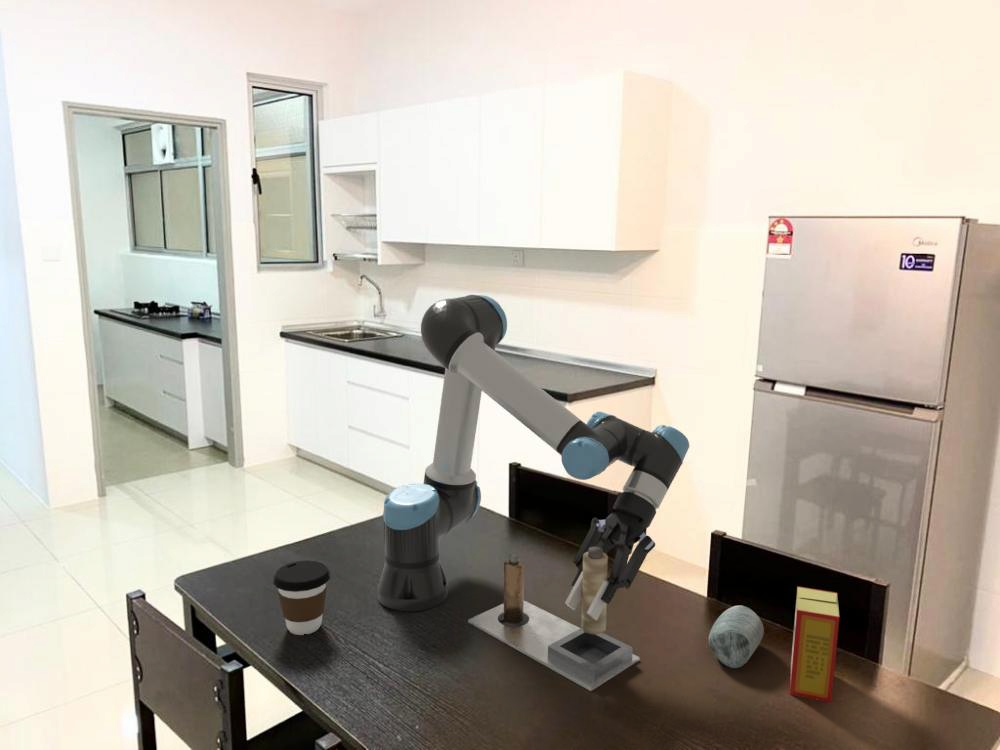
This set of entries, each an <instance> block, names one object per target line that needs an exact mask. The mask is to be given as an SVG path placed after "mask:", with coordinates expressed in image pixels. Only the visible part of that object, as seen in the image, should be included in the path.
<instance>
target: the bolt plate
mask: <svg viewBox="0 0 1000 750" xmlns="http://www.w3.org/2000/svg"><path fill="white" fill-rule="evenodd" d="M524 582H525V563H524V561H523V560H521V559H520V555H519V554H518V553H511V554H509V556H508V559H507V560H505V561H504V562H503V603H501V604H499V605H497V606H495V607H493V608H490V609H489V610H486V611H483V612H481V613H479V614H477V615H475V616H473V617H471V618H469V619H468V620H467V623H468V624H469V625H471V626H473V627H475V628H477V629H479V630H481V631H482V632H484V633H485V634H487V635H489V636H491V637H493V638H495V639H496V640H498V641H500V642H501V643H504V644H506V645H508V646H509V647H511V648H513V649H515V650H517V651H518V652H520V653H522V654H523V655H526V656H527V657H529V658H531V659H532V660H534V661H536V662H537V663H539V664H541V665H543V666H545V667H547V668H548V669H551V670H552V671H553V672H556V673H557V674H559V675H561V676H563V678H566V679H568V680H570V681H571V682H574V683H575V684H577V685H579V686H580V687H582V688H584V689H585V690H588V691H589V692H592V691H593V690H595V689H597V688H598V687H599V686H601V685H603V684H604V683H606V682H607V681H609V680H611V679H613V678H614V677H616V676H617V675H618V674H621V673H622V672H623V671H625V670H626V669H628V668H630V667H631V666H632V665H634V664H636V663H638V662H639V661H640V656H638V655H636V654H633V650H634V648H633V646H631V645H628V644H627V643H625V642H622V641H620V640H618V639H616V638H614V637H613V636H610V635H608V634H606V633H605V632H603V633H601V634H589V633H586V632H584V631H583V630H582V627H578V626H577V625H574V624H573V623H570V622H569V621H566V620H564V619H562V618H560V617H558V616H556V615H554V614H552V613H550V612H548V611H546V610H545V609H542V608H540V607H538V606H536V605H534V604H532V603H531V602H528V601H526V600H525V597H524V594H525V593H524V591H525V590H524V589H525V588H524V587H525V583H524Z"/></svg>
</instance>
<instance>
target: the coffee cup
mask: <svg viewBox="0 0 1000 750" xmlns="http://www.w3.org/2000/svg"><path fill="white" fill-rule="evenodd" d="M330 579H331V571H330V570H329V568H328V566H327V565H325V564H324V563H322V562H320V561H316V560H298V561H294V562H290V563H287V564H285V565H283V566H281V567H279V568H278V570H277V571H276V572H275V574H274V576H273V579H272V580H273V585H274V586H275V587H276V588H277V593H278V598H279V602H280V607H281V612H282V616H283V618H284V620H285V625H286V628H287V630H288V631H289V632H290V634H293V635H297V636H304V634H307V635H309V634H312V633H314V632H317V631H318V630H319V628H320V627H321V625H322V622H323V613H324V612H325V604H326V597H327V596H326V595H327V586H328V585H327V583H328V581H329V580H330Z"/></svg>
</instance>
